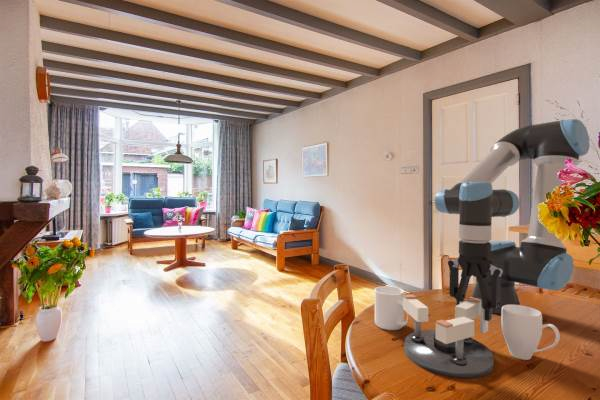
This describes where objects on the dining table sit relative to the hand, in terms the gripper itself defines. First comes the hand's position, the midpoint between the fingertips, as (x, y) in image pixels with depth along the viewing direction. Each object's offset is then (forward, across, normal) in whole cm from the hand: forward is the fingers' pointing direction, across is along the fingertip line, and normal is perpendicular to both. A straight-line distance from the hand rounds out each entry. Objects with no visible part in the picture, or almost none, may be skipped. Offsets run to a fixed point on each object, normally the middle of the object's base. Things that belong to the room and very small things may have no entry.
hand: (473, 328), depth 86 cm
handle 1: (+1, +9, +13) cm, 16 cm away
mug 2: (+5, -12, -4) cm, 13 cm away
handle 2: (+1, 0, +3) cm, 3 cm away
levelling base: (+5, +1, +11) cm, 12 cm away
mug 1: (+5, +20, +8) cm, 22 cm away
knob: (+1, -4, +17) cm, 17 cm away
